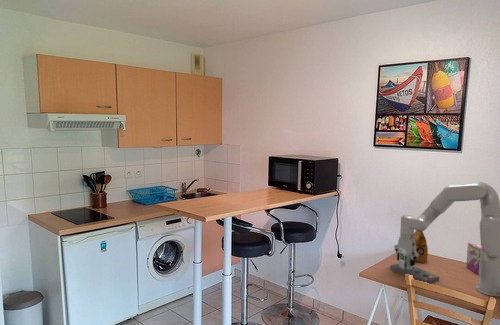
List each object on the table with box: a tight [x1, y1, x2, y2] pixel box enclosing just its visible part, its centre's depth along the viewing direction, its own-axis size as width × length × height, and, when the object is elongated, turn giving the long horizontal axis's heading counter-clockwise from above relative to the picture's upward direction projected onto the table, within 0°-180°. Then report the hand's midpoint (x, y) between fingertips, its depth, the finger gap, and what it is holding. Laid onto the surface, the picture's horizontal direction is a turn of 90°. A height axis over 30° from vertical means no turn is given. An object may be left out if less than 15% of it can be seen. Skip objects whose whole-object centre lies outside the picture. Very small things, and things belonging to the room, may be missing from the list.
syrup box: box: [398, 248, 413, 270], centre depth 207 cm, size 6×6×14 cm
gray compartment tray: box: [390, 262, 440, 284], centre depth 202 cm, size 24×12×3 cm, turn 26°
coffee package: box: [414, 230, 429, 264], centre depth 225 cm, size 10×12×22 cm
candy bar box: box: [466, 242, 482, 276], centre depth 207 cm, size 11×5×16 cm, turn 1°
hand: (405, 262), depth 207 cm, fingers open, 9 cm apart
